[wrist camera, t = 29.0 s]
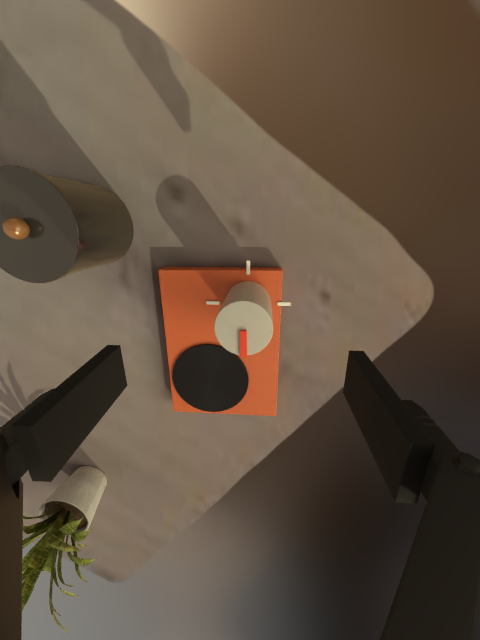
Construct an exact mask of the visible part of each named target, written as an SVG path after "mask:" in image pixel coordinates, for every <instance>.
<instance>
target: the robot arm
mask: <svg viewBox="0 0 480 640" xmlns="http://www.w3.org/2000/svg"><path fill="white" fill-rule="evenodd" d="M126 386H127V382H126V376H125V370H124V365H123V359H122V354H121V348H120V345H107V346H106V347H105V348H103V349H102V350H101V351H100V352H99V353H97V354H96V355H95V356H94V357H93V358H91V359H90V360H89V361H88V362H87V363H85V364H84V365H83V366H82V367H81V368H79V369H78V370H77V371H76V372H75V373H73V374H72V375H71V376H70V377H69V378H67V379H66V380H65V381H64V382H63V383H61V384H60V385H59V386H58V387H57V388H55V389H51V390H50V391H48V392H46V393H44V394H42V395H40V396H39V397H38V398H37V399H35V400H34V401H33V402H32V404H29V405H28V406H27V407H26V408H25V409H24V410H22V411H21V412H19V413H18V414H17V415H16V416H14V417H13V418H12V419H11V420H9V421H8V422H7V423H6V424H5V425H3V426H2V427H0V640H21V618H22V616H21V615H22V613H21V612H22V531H23V483H22V481H21V477H22V476H23V475H24V474H25V473H26V471H27V470H29V473H30V475H31V478H32V481H45V482H51V481H52V480H53V478H54V477H55V476H56V475H57V473H58V472H59V471H60V470H61V468H62V467H63V466H64V465H65V463H66V462H67V461H68V460H69V458H70V457H71V456H72V455H73V453H74V452H75V451H76V449H77V448H78V447H79V446H80V444H81V443H82V442H83V441H84V439H85V438H86V437H87V436H88V434H89V433H90V432H91V431H92V429H93V428H94V427H95V426H96V424H97V423H98V422H99V420H100V419H101V418H102V417H103V415H104V414H105V413H106V412H107V410H108V409H109V408H110V407H111V405H112V404H113V403H114V402H115V400H116V399H117V398H118V397H119V395H120V394H121V393H122V391H123V390H124V389H125V388H126ZM343 394H344V396H345V398H346V400H347V402H348V404H349V406H350V408H351V411H352V412H353V415H354V417H355V419H356V421H357V423H358V425H359V427H360V429H361V432H362V434H363V436H364V438H365V440H366V442H367V444H368V446H369V448H370V451H371V453H372V455H373V457H374V459H375V461H376V463H377V465H378V467H379V470H380V472H381V474H382V476H383V478H384V480H385V482H386V484H387V486H388V489H389V491H390V493H391V495H392V497H393V499H394V501H395V502H400V503H417V502H418V499H419V495H420V492H421V493H422V494H423V496H424V497H425V499H426V501H427V504H426V506H425V509H424V512H423V516H422V518H421V521H420V524H419V527H418V530H417V533H416V536H415V539H414V542H413V545H412V547H411V550H410V553H409V556H408V559H407V562H406V566H405V568H404V571H403V574H402V577H401V580H400V583H399V586H398V588H397V591H396V594H395V597H394V600H393V603H392V606H391V609H390V612H389V615H388V618H387V621H386V624H385V627H384V629H383V632H382V635H381V638H380V640H476V633H477V624H478V616H479V606H480V460H479V459H478V458H475V457H474V456H472V455H470V454H468V453H464V452H462V451H459V450H458V448H457V447H456V446H455V445H454V444H453V443H452V442H451V440H450V439H449V438H448V437H447V436H446V435H445V433H444V432H443V431H442V430H441V429H440V427H439V426H437V424H436V423H435V422H434V420H433V419H431V418H430V416H429V415H428V413H427V412H426V411H425V410H424V409H423V408H422V407H421V406H419V405H418V404H416V403H415V402H413V401H412V400H401V399H400V398H399V396H398V395H397V394H396V393H395V391H394V390H393V389H392V387H391V386H390V385H389V384H388V382H387V381H386V380H385V378H384V377H383V376H382V374H381V373H380V372H379V371H378V369H377V368H376V367H375V365H374V364H373V363H372V362H371V360H370V359H369V358H368V356H367V355H366V354H365V353H364V351H349V356H348V363H347V370H346V376H345V383H344V390H343Z"/></svg>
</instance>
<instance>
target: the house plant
mask: <svg viewBox="0 0 480 640" xmlns="http://www.w3.org/2000/svg"><path fill="white" fill-rule="evenodd" d="M106 483H107V479H106V477H105V475H104V474H103V473H102V472H101V471H100V470H99V469H97V468H95V467H91V466H82V467H79V468H78V469H77V470H76V471H75V472H74V473H73V474H72V475H71V476H70V477H69V478H68V479H67V480H66V481H65V482H64V483H63V484H62V485H61V486H60V487H59V488H58V489H57V490H56V491H55V492H54V493H53V494H52V495H51V496H50V497H49V498H48V499H47V500H46V501H45V502H44V503H43V504H42V505H41V507H40V509H39V515H40V516H38V517H25V516H23V519H32V518H41V520H42V522H39V523H37V524H34V525H31V526H27V527H26V526H24V525H23V531H24V532H25V533H26V534H30V533H34V532H35V533H34V534H32V535H31V536H29V537H28V538H26V539H24V540H22V548H24V547H25V546H27V545H28V544H29V543H31V542H32V541H34V540H35V539H36V538H38V537H39V536H41V535H42V534H43V533H45V532H46V531H47V532H46V534H45V535H44V536H43V537H42V539H41V540H40V541H39V542H38V543H37V544H36V545H35V546H34V547H33V548H32V549H31V550H30V551H29V553H27V555H26V556H25V557H24V558H23V559H22V581H23V580H24V579H25V578H26V579H25V580H24V582H23V583H22V610H23V608H24V606H25V604H26V603H27V601H28V599H29V597H30V595H31V593H32V591H33V588H34V585H35V582H36V580H37V578H38V576H39V574H40V572H41V571H48V572H51V581H50V609H51V614H52V616H53V618H54V620H55V621H56V622H57V624H58V625H60V627H62V628H63V629H64V630H66V629H65V628H64V627H63V626H62V625H61V624H60V623H59V622H58V620H57V619H56V617H55V614H54V613H53V610H54V611H55V612H56V610H55V609H54V607H53V604H52V583H53V578H54V581H55V583H56V585H57V586H58V587H59V585H58V583H57V578H56V569H55V562H56V556H57V551H58V550H59V558H58V565H57V567H58V577H59V579H60V581H61V582H62V583H63V584H65V583H64V582H63V579H62V574H61V559H62V551H66V552H68V556H69V557H70V559H71V560H72V561H73V562H75V568H76V572H77V574H78V575H79V577H80V578H81V579H82V580H84V581H85V579H84V578H83V577H82V576H81V573H80V571H79V567H78V565H86V564H89V563H91V562H92V561H94V560H95V559H96V558H95V559H82V558H78V557H77V552H76V551H80V550H79V549H78V548H76V547H75V542H76V541H82V540H83V539H84V538H85V537H86V536H87V534H88V533H89V532H90V530H91V529H90V530H89V531H87V530H88V528H89V526H90V524H91V521H92V519H93V516H94V514H95V511H96V509H97V506H98V504H99V501H100V499H101V496H102V494H103V491H104V489H105V486H106ZM65 535H67V538H66V543H65V542H64V538H65ZM68 536H71V540H72V546H71V545H68V544H67V541H68ZM74 541H75V542H74ZM77 544H78V543H77ZM78 545H79V546H82V547H86V545H81V544H78ZM70 552H73V553H74V556H73V555H72V554H71V553H70ZM27 575H28V576H27ZM85 582H86V581H85ZM65 585H67V584H65ZM67 586H71V585H67ZM60 590H61V591H62V592H63V593H65V594H67V595H71V596H78V595H75V594H72V593H68V592H66V591H64V590H62V589H61V588H60ZM56 613H57V612H56ZM57 614H58V613H57ZM58 615H59V614H58ZM66 631H67V630H66Z"/></svg>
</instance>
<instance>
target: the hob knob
mask: <svg viewBox="0 0 480 640" xmlns="http://www.w3.org/2000/svg"><path fill="white" fill-rule="evenodd" d="M214 331H215V335H216V338H217V340H218V341H219V343H220V344H221V345H222V346H223V347H224V348H225V349H226V350H228V351H229V352H231V353H234V354H237V355H240V357H247V355H252V354H255V353H258V352H259V351H261V350H262V349H264V348H265V347H266V346H267V345H268V343H269V342H270V340H271V338H272V334H273V320H272V310H271V300H270V296H269V294H268V292H267V290H266V289H265V288H264V287H263V286H262V285H260V284H258V283H256V282H252V281H244V282H240V283H238V284H236V285H235V286H233V287H232V288H231V289H230V291H229V292H228V294H227V296H226V298H225V300H224V302H223V304H222V306H221V308H220V311H219V313H218V315H217V317H216V319H215V324H214Z"/></svg>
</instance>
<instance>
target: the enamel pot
mask: <svg viewBox="0 0 480 640" xmlns="http://www.w3.org/2000/svg"><path fill="white" fill-rule="evenodd" d="M132 238H133V224H132V220H131V217H130V214H129V212H128V210H127V208H126V206H125V205H124V204H123V202H122V201H121V200H120V199H119V198H118V197H117V196H116V195H115V194H114V193H112V192H111V191H109V190H107V189H105V188H102V187H99V186H95V185H90V184H85V183H81V182H76V181H71V180H66V179H62V178H57V177H52V176H48V175H43V174H41V173H39V172H37V171H34V170H31V169H29V168H24V167H20V166H11V165H8V166H0V268H1V269H3V270H4V271H5V272H7V273H9V274H10V275H12V276H14V277H16V278H18V279H21V280H24V281H28V282H32V283H47V282H51V281H55V280H58V279H60V278H62V277H64V276H66V275H67V274H71V273H75V272H78V271H82V270H86V269H89V268H93V267H97V266H100V265H104V264H108V263H111V262H114V261H117V260H118V259H120V258H121V257H123V256H124V255H125V254H126V252H127V251H128V249H129V247H130V245H131V242H132Z"/></svg>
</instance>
